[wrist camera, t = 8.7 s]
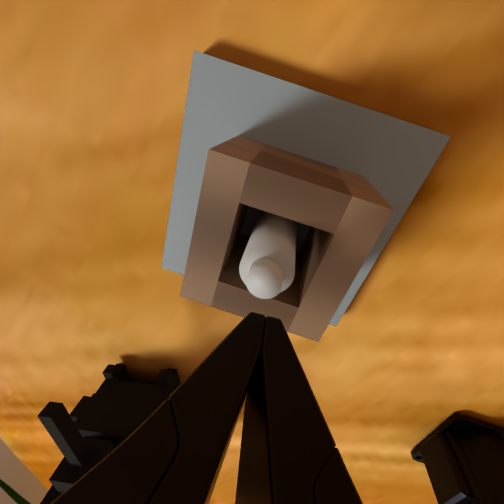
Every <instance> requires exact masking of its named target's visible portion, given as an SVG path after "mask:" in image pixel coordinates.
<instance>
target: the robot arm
mask: <svg viewBox="0 0 504 504" xmlns="http://www.w3.org/2000/svg"><path fill="white" fill-rule="evenodd" d="M246 394H247V395H246ZM245 397H246V401H245V409H244V420H243V430H242V440H241V450H240V460H239V470H238V480H237V491H236V501H235V504H363V503H362V501H361V499H360V496H359V494H358V492H357V490H356V488H355V486H354V483H353V481H352V479H351V477H350V475H349V473H348V471H347V468H346V466H345V464H344V462H343V459H342V457H341V455H340V452H339V450H338V448H335V446H336V444H335V441H334V439H333V437H332V434H331V432H330V430H329V428H328V425H327V423H326V421H325V419H324V416H323V414H322V412H321V409H320V407H319V405H318V403H317V400H316V398H315V396H314V393H313V391H312V389H311V387H310V384H309V382H308V380H307V378H306V375H305V373H304V371H303V368H302V366H301V364H300V362H299V359H298V357H297V355H296V353H295V350H294V348H293V346H292V343H291V341H290V339H289V337H288V334H287V332H286V330H285V327H284V325H283V323H282V321H281V320H280V319H279V318H275V317H271V316H266V317H265V315H264V314H260V313H257V312H250V313H249V314H248V315H247V316H246V317H245V318H244V319H243V320H242V321H241V322H240V323H239V324H238V325H237V326H236V327H235V328H234V329H233V330H232V332H231V333H230V334H229V335H228V336H227V337H226V338H225V339H224V340H223V341H222V342H221V343H220V344H219V345H218V346H217V347H216V348H215V349H214V350H213V351H212V352H211V353H210V354H209V355H208V357H207V358H206V359H205V360H204V361H203V362H202V363H201V364H200V365H199V366H198V367H197V368H196V369H195V370H194V371H193V372H192V373H191V374H190V375H189V376H188V377H187V378H186V379H185V381H184V382H183V383H182V384H181V385H180V386H179V387H178V388H177V389H176V390H175V391H174V392H173V393H172V394H171V395H170V396H169V399H166V400H165V401H164V402H163V403H162V404H161V405H160V406H159V407H158V408H157V409H156V410H155V412H154V413H153V414H152V415H151V416H150V417H148V418H147V419H146V420H145V421H144V422H143V423H142V424H141V425H140V426H139V427H138V428H137V429H136V430H135V431H134V432H133V433H132V434H131V435H130V436H129V437H128V438H127V439H126V440H124V441H123V442H122V443H121V444H120V445H119V446H118V447H117V448H115V449H114V450H113V451H112V452H111V453H110V454H109V455H107V456H106V457H105V458H104V459H103V460H102V461H101V462H99V463H98V464H97V465H96V466H95V467H93V468H92V469H91V470H90V471H89V472H88V473H86V474H85V475H84V476H83V477H82V478H80V479H79V480H78V481H77V482H76V483H75V484H73V485H72V486H71V487H70V488H69V489H67V490H66V491H65V492H64V493H63V494H62V495H60V496H59V497H58V498H57V499H56V500H54V501H53V502H52V503H51V504H209V501H210V498H211V495H212V493H213V490H214V487H215V484H216V481H217V478H218V475H219V472H220V469H221V467H222V464H223V461H224V458H225V455H226V452H227V449H228V446H229V444H230V441H231V438H232V435H233V432H234V429H235V426H236V423H237V421H238V418H239V415H240V412H241V409H242V406H243V403H244V400H245ZM411 455H412V458H413V460H416V461H419V462H422V463H425V466H426V469H427V472H428V475H429V478H430V481H431V484H432V487H433V490H434V493H435V495H436V498H437V501H438V504H504V429H503V428H500V427H497V426H494V425H491V424H488V423H485V422H482V421H479V420H476V419H474V418H471V417H468V416H465V415H462V414H454V415H452V416H451V417H450V418H448V419H447V420H446V421H445V422H444V423H443V424H442V425H440V426H439V427H438V428H437V429H436V430H435V431H434V432H432V433H431V434H430V435H429V436H428V437H427V438H425V439H424V440H423V441H422V442H421V443H420V444H419V445H417V446H416V447H415V448H414V449H413V450H412V451H411Z"/></svg>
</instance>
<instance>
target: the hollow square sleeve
mask: <svg viewBox="0 0 504 504" xmlns="http://www.w3.org/2000/svg"><path fill="white" fill-rule="evenodd" d="M248 206H251V207H254V208H257V209H260V210H263V211H266V212H269V213H272V214H275V215H278V216H281V217H284V218H287V219H290V220H293V221H296V222H299V223H302V224H305V225H309V226H311V228H310V230H309V232H308V235H307V237H306V239H305V242H304V244H303V246H302V249H301V251H300V253H298V252H296V253H295V275H294V279H293V282H292V283H291V285H290V286H289V287H288V288H287V289H286V290H284V291H282V292H280V293H279V294H278V295H277V296H275V297H273V298H270V299H261V298H258V297H255V296H254V295H252V294H251V293H250V292H249V290H248V289H247V286H246V285H245V284H244V282H243V281H242V279H241V277H240V273H239V265H240V262H241V259H242V257H243V254H244V252H245V249H246V246H247V244H248V241H249V239H250V236H247V235H244V234H241V230H242V227H243V223H244V220H245V216H246V213H247V210H248ZM393 211H394V209H393V208H392V207H391V206H390V205H389V204H388V203H387V202H386V200H385V199H384V198H383V197H382V196H381V195H380V194H379V193H378V191H377V190H376V189H375V188H374V187H373V186H372V185H371V184H370V182H369V181H368V180H367V179H366V178H365V177H364V176H361V175H358V174H355V173H352V172H349V171H346V170H343V169H340V168H336V167H333V166H330V165H327V164H324V163H321V162H318V161H315V160H312V159H309V158H306V157H303V156H300V155H297V154H294V153H291V152H288V151H285V150H281V149H278V148H275V147H272V146H269V145H266V144H263V143H260V142H257V141H254V140H251V139H248V138H245V137H242V136H239V135H238V136H236V137H234V138H232V139H230V140H227V141H225V142H223V143H221V144H219V145H217V146H215V147H212V148H210V149H209V150H208V155H207V160H206V165H205V171H204V176H203V181H202V186H201V191H200V196H199V202H198V207H197V212H196V217H195V222H194V227H193V232H192V238H191V243H190V248H189V253H188V258H187V263H186V269H185V274H184V279H183V284H182V289H181V294H180V296H181V297H184V298H187V299H190V300H193V301H196V302H199V303H202V304H205V305H208V306H211V307H214V308H217V309H220V310H223V311H226V312H229V313H232V314H235V315H238V316H241V317H246V316H247V315H248V314H249V313H250V312H257V313H260V314H264V315H265V317H266V316H271V317H275V318H279V319H280V320H281V321H282V323H283V325H284V327H285V330H286V331H287V332H290V333H293V334H296V335H299V336H302V337H305V338H308V339H311V340H314V341H317V342H319V340H320V338H321V337H322V335H323V333H324V331H325V330H326V328H327V326H328V324H329V323H330V321H331V319H332V317H333V316H334V314H335V312H336V310H337V309H338V307H339V305H340V303H341V302H342V300H343V298H344V297H345V295H346V293H347V291H348V290H349V288H350V286H351V284H352V283H353V281H354V279H355V277H356V276H357V274H358V272H359V270H360V269H361V267H362V265H363V263H364V262H365V260H366V258H367V256H368V255H369V253H370V251H371V249H372V248H373V246H374V244H375V242H376V241H377V239H378V237H379V235H380V234H381V232H382V230H383V228H384V227H385V225H386V223H387V222H388V220H389V218H390V216H391V215H392V213H393Z"/></svg>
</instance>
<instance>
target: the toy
mask: <svg viewBox="0 0 504 504" xmlns="http://www.w3.org/2000/svg"><path fill="white" fill-rule="evenodd" d="M103 375H104V377H105V381H104V382H103V383H102V385H101V386H100V388H99V389H98V390H97V392H96V393H95V394H93V395H92V397H88V396H83V398H82V399H81V400H80V402H79V403H78V404H77V405H76V407H75V408H74V409H73V411H72V412H71V413H70V415H69V413H68V412H67V410H66V408H65V407H64V405H63V403H57V402H49V403H48V404H47V405H46V407H45V408H44V409H43V410H42V411H41V412H40V414H39V415H38V418H39V419H40V421H41V422H42V424H43V425H44V427H45V428H46V430H47V431H48V433H49V434H50V436H51V437H52V438H53V440H54V441H55V443H56V444H57V446H58V447H59V449H60V450H61V452H62V453H63V455H64V456H65V457H64V458H63V460H62V461H61V463H60V464H59V466H58V467H57V469H56V470H55V472H54V473H53V475H52V476H51V478H50V479H49V481H50V482H51V483H52V486H51V488H50V489H49V491H48V492H47V494H46V496H45V497H44V499H43V500H42V502H41V503H40V504H51V503H52V502H53V501H54V500H56V499H57V498H58V497H59V496H60V495H62V494H63V493H64V492H65V491H66V490H67V489H69V488H70V487H71V486H72V485H73V484H75V483H76V482H77V481H78V480H79V479H80V478H82V477H83V476H84V475H85V474H86V473H88V472H89V471H90V470H91V469H92V468H93V467H95V466H96V465H97V464H98V463H99V462H101V461H102V460H103V459H104V458H105V457H106V456H107V455H109V454H110V453H111V452H112V451H113V450H114V449H115V448H117V447H118V446H119V445H120V444H121V443H122V442H123V441H124V440H126V439H127V438H128V437H129V436H130V435H131V434H132V433H133V432H134V431H135V430H136V429H137V428H138V427H139V426H140V425H141V424H142V423H143V422H144V421H145V420H146V419H147V418H148V417H150V416H151V415H152V414H153V413H154V412H155V410H156V409H157V408H158V407H159V406H160V405H161V404H162V403H163V402H164V401H165V400H166V399H169V396H170V395H171V394H172V393H173V392H174V391H175V390H176V389H177V388H178V387H179V386H180V385H181V383H180V379H179V375H178V372H177V369H167V370H164V369H162V370H161V372H160V374H159V376H158V381H159V384H160V385H158V384H148V383H138V382H131V379H130V377H129V374H128V372H127V369H126V367H125V365H122V364H116V365H108V366H107V367H106V369H105V370H104V371H103Z"/></svg>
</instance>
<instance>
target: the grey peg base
mask: <svg viewBox="0 0 504 504" xmlns="http://www.w3.org/2000/svg"><path fill="white" fill-rule="evenodd" d="M238 135H239V136H242V137H245V138H248V139H251V140H254V141H257V142H260V143H263V144H266V145H269V146H272V147H275V148H278V149H281V150H285V151H288V152H291V153H294V154H297V155H300V156H303V157H306V158H309V159H312V160H315V161H318V162H321V163H324V164H327V165H330V166H333V167H336V168H340V169H343V170H346V171H349V172H352V173H355V174H358V175H361V176H364V177H365V178H366V179H367V180H368V181H369V182H370V184H371V185H372V186H373V187H374V188H375V189H376V190H377V191H378V193H379V194H380V195H381V196H382V197H383V198H384V199H385V200H386V202H387V203H388V204H389V205H390V206H391V207H392V208H393V209H394V211H393V213H392V215H391V216H390V218H389V220H388V222H387V223H386V225H385V227H384V228H383V230H382V232H381V234H380V235H379V237H378V239H377V241H376V242H375V244H374V246H373V248H372V249H371V251H370V253H369V255H368V256H367V258H366V260H365V262H364V263H363V265H362V267H361V269H360V270H359V272H358V274H357V276H356V277H355V279H354V281H353V283H352V284H351V286H350V288H349V290H348V291H347V293H346V295H345V297H344V298H343V300H342V302H341V303H340V305H339V307H338V309H337V310H336V312H335V314H334V316H333V317H332V319H331V321H330V323H329V324H330V325H333V326H337V324H338V323H339V321H340V319H341V318H342V316H343V314H344V313H345V311H346V309H347V308H348V306H349V304H350V303H351V301H352V299H353V298H354V296H355V294H356V293H357V291H358V290H359V288H360V286H361V285H362V283H363V281H364V280H365V278H366V276H367V275H368V273H369V271H370V270H371V268H372V266H373V265H374V263H375V261H376V260H377V258H378V257H379V255H380V253H381V252H382V250H383V248H384V247H385V245H386V243H387V242H388V240H389V238H390V237H391V235H392V233H393V232H394V230H395V228H396V227H397V225H398V224H399V222H400V220H401V219H402V217H403V215H404V214H405V212H406V210H407V209H408V207H409V205H410V204H411V202H412V200H413V199H414V197H415V195H416V194H417V192H418V191H419V189H420V187H421V186H422V184H423V182H424V181H425V179H426V177H427V176H428V174H429V172H430V171H431V169H432V167H433V166H434V164H435V162H436V161H437V159H438V158H439V156H440V154H441V153H442V151H443V149H444V148H445V146H446V144H447V143H448V141H449V139H450V138H451V136H449V135H446V134H443V133H440V132H437V131H434V130H431V129H428V128H425V127H422V126H419V125H416V124H413V123H410V122H407V121H404V120H401V119H398V118H395V117H392V116H389V115H386V114H383V113H380V112H377V111H374V110H371V109H368V108H365V107H362V106H359V105H356V104H353V103H350V102H347V101H344V100H341V99H338V98H335V97H332V96H329V95H326V94H323V93H320V92H317V91H314V90H311V89H308V88H305V87H302V86H299V85H296V84H293V83H290V82H287V81H284V80H281V79H278V78H275V77H272V76H269V75H267V74H264V73H261V72H258V71H255V70H252V69H249V68H246V67H243V66H240V65H237V64H234V63H231V62H228V61H225V60H222V59H219V58H216V57H213V56H210V55H207V54H204V53H201V52H198V51H195V50H194V53H193V60H192V67H191V73H190V80H189V87H188V93H187V100H186V107H185V113H184V120H183V127H182V133H181V140H180V147H179V154H178V160H177V167H176V174H175V180H174V187H173V194H172V200H171V207H170V214H169V220H168V227H167V234H166V240H165V247H164V254H163V260H162V267H161V268H164V269H167V270H170V271H173V272H176V273H179V274H182V275H184V274H185V269H186V263H187V258H188V253H189V248H190V243H191V238H192V232H193V227H194V222H195V217H196V212H197V207H198V202H199V196H200V191H201V186H202V181H203V176H204V171H205V165H206V160H207V155H208V150H209V149H210V148H212V147H215V146H217V145H219V144H221V143H223V142H225V141H227V140H230V139H232V138H234V137H236V136H238ZM310 228H311V226H309V225H305V224H302V223H299V222H296V221H293V220H290V219H287V218H284V217H281V216H278V215H275V214H272V213H269V212H266V211H263V210H260V209H257V208H254V207H251V206H248V210H247V213H246V216H245V220H244V223H243V227H242V230H241V234H244V235H247V236H250V239H249V241H248V244H247V246H246V249H245V252H244V254H243V257H242V259H241V262H240V265H239V273H240V277H241V279H242V281H243V282H244V284H245V285H246V286H247V289H248V290H249V292H250V293H251V294H252V295H254V296H255V297H258V298H261V299H270V298H273V297H275V296H277V295H278V294H279V293H280V292H282V291H284V290H286V289H287V288H288V287H289V286H290V285H291V283H292V282H293V279H294V275H295V253H296V252H298V253H300V251H301V249H302V246H303V244H304V242H305V239H306V237H307V235H308V232H309V230H310Z"/></svg>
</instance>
